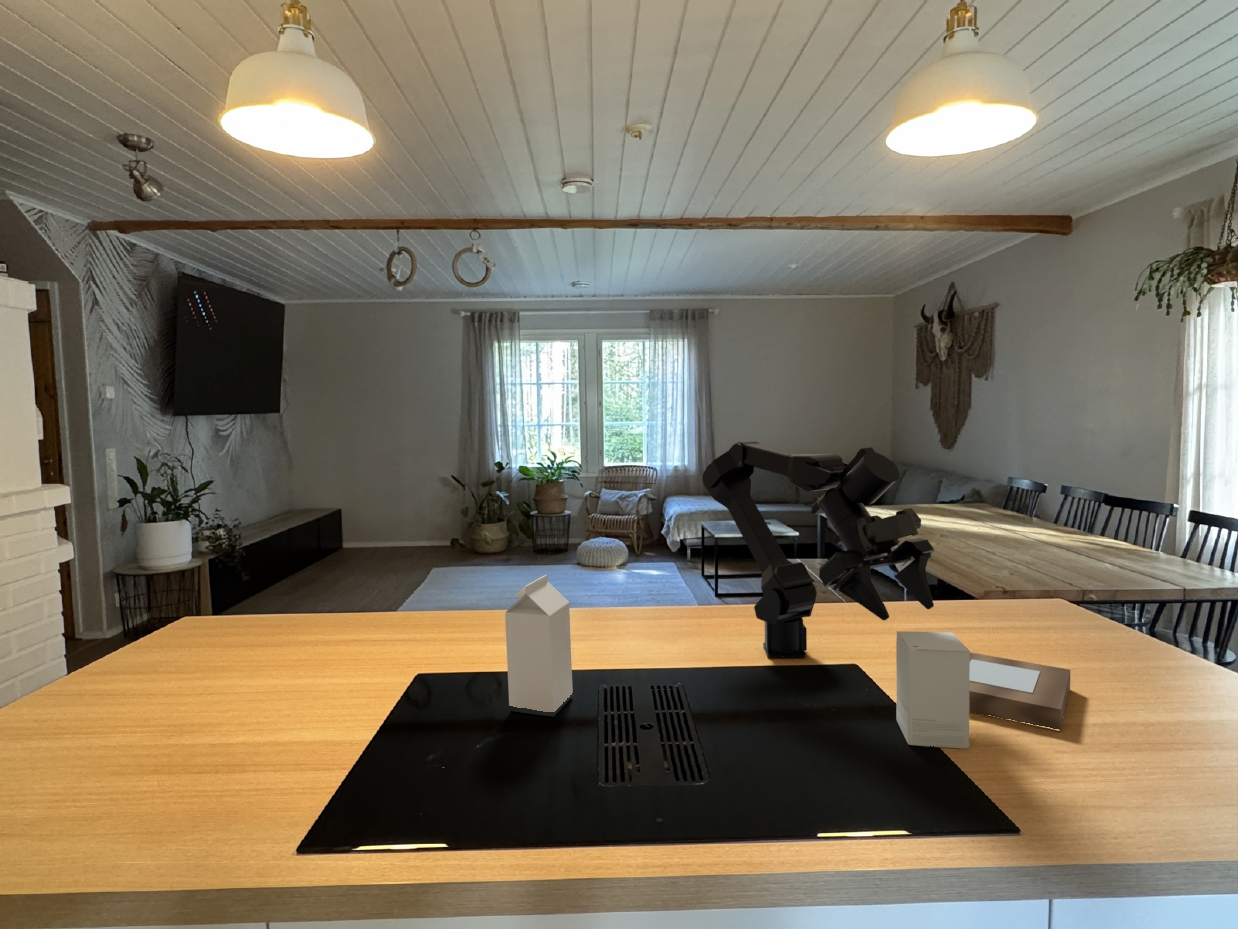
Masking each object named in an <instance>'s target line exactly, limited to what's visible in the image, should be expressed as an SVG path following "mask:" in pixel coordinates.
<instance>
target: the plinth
mask: <svg viewBox="0 0 1238 929" xmlns="http://www.w3.org/2000/svg"><path fill="white" fill-rule="evenodd" d="M1069 691H1070V692H1071V669H1069V668H1063V667H1059V666H1058V667H1057V666H1051V665H1046V664H1040V663H1035V662H1029V661H1023V660H1017V659H1009V658H1007V657H1006V658H1004V657H999V656H994V655H988V654H983V653H977V652H972V651H970V668H969V713H972V712H976V713H975V714H977V713H979V714H978V715H981V714H984V715H983V716H986V715H991V716H995V717H999V718H1003V719H1002V720H1004V719H1011V720H1015V721H1017V722H1016V723H1018V722H1025V723H1030V724H1033V725H1039V726H1045V727H1050V728H1053V729H1059V730H1061V731H1062V727H1063V723H1062V722H1064V719H1063V717H1064V718H1065V714H1064V712H1065V713H1066V710H1065V708H1066V709H1067V705H1068V701H1067V699H1068V700H1069V697H1068V695H1069V696H1070V692H1069ZM1066 704H1067V705H1066ZM995 717H994V718H995ZM999 718H998V719H999ZM1061 726H1062V727H1061Z"/></svg>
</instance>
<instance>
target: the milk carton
mask: <svg viewBox="0 0 1238 929" xmlns="http://www.w3.org/2000/svg"><path fill="white" fill-rule="evenodd" d="M548 576H549V575H548V574H544V575H543V576H541V577H539V578H537V579H535V580H534V581H532V582H530V583H528V584H527V585H525V586H524V587H523V588H521V589H520V590H519V591H517V593H516V594H515V597H516V599H518V600H517V601H516V602H514V604H512V605H511V606H510V607H509V608H508V609H507V610H506V611H505V613H504V616H505V617H504V621H505V639H506V640H505V641H506V662H507V663H506V666H507V683H508V684H507V685H508V686H507V687H508V688H507V689H508V706H513V707H517V708H527V709H532V710H537V711H543V712H555V711H556V710H557V709H558V708H559V707H560V706H561V705H562V704H563V702H565V701H566V700H567V698H569V697H570V695H572V693H573V690H574V689H573V672H572V670H573V669H572V668H573V666H572V664H573V663H572V643H571V641H572V640H571V615H570V601H569V600H568V599H567V598H566V597H565V596H564V595H563V594H561V592H559V590H557V589H556V588H555V587H554V585H552V584H551V583H550V582H549V580H548V579H549V578H548ZM573 694H574V693H573Z"/></svg>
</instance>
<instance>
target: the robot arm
mask: <svg viewBox="0 0 1238 929" xmlns="http://www.w3.org/2000/svg"><path fill="white" fill-rule="evenodd" d="M757 468H758V469H762V470H765V471H766V472H767V471H768V472H771V473H774V474H776V475H780V476H783V477H785V478H787V479H788V480H789V482H790V484H792V485H794V486H795V487H797V488H799V489H800V490H802V491H805V492H809V493H810V492H817V491H824V490H825V492H824V493H823V495H821V496H820V497H819V496H817V497H814V498H813V504H812V506H811V510H810V511H811V515H813V516H814V515H822V514H824V515H825V517H826V518H827V521H828V522H829V524H830V525H831V527H832V528H833V530H834V532H835V534H836V536H835V537H834V538H833V542H834V543H835V544H836V546H838V545H843V546H844V548H845V550H842V551H836V552H835V553H834V554H833V555H832V556H831V557H830V558H829V559H828V560H827V561H826V562H825V563H823V564H822V565H821V566H820V567H819V573H818V574H819V576H818V577H819V579H820V581H821V582H822V584H823V586H824V587H825V588H826V589H827V588H831V587H832V589H833V591H834V592H840V593H841V594H843V595H845V596H846V597H848V598H850V599H851V600H853V601H855V602H856V603H858V604H859V605H860V606H862V607H863V608H864V609H866V610H868V611H869V612H870V613H872V614H873V615H874V616H876V617H878V618H879V619H880V620H882V621H887V620H888V619H889V618H890V615H889V612H888V610H887V607H886V606H885V604H884V602H883V600H882V598H881V596H880V595H879V593H878V591H877V589H876V587H875V585H874V584H873V582H872V580H871V576H872V574H871V569H876V568H881V567H887V566H888V567H889V569H890V570H891V571H892V572H894V573H896V574H895V575H894V576H893V577H894V578H895V579H896V580H897V581H898V582H899V583H900V584H901V585H902V586H903V587H904V588H905V590H906V591H908V593H910V594H911V596H913V597H914V598H915V600H917V601H918V603H920V604H921V605H922V606H923V607H924V608H925V609H926V610H931V609H932V608H933V607H934V601H933V597H932V593H931V592H932V591H931V589H930V585H929V582H928V581H929V580H928V576H927V572H926V571H927V570H926V568H927V566H928V565H927V564H928V561H930V560H931V558H932V554H933V553H934V552H935V548H934V547H933V546H932V544H931V543H930V541H929V540H928V539H926V538H923V537H922V538H921V537H918V538H912V539H906V540H904V541H903V542H902V543H901V544H899V543H900V540H899V539H902V538H905V537H908V536H913V537H914V536H917V535H919V532H918V529H920V528H921V526H922V519H921V518H920V517H919V515H918V513H916V512H915V510H914V509H913V508H912V507H908V508H903V509H902V510H898V511H896V512H895V515H894V514H893V515H891V516H886V517H884V518H882V517H881V516H879V515H877V514H876V515H871V514H870V512H869V511H868V510H867V508H866V506H865V505H872V504H874V503H875V502H876V501H878V499H879V498H880V497H881V496H882V495H884V493H886V491H887V490H888V489H890V488H891V487H892V486H893V485H894V484H895V483H896V482H897V481H898V479H900V471H899V468H898V467H897V465H896V464H895V463H894V462H893V461H891V460H890V459H889V458H887V457H886V456H885V455H883V454H880V453H878V452H876V451H875V449H874V448H873V447H872V446H871V447H870V446H868V447H866V446H865V447H861V448H860V449H859V450H857V452H856V454H855V456H854V457H853V459H852V460H850V462H849V463H848V462H844V461H843V458H842V457H841V456H840V455H838V454H836V453H800V452H799V453H798V452H795V451H791V450H786V449H782V448H779V447H774V446H771V445H766V444H762V443H761V442H758V441H756V440H751V441H750V440H749V441H738V442H736V443H734V444H733V445H732V446H731V447H730V448H728V450H727V451H725V452H724V453H723V454H721V455H720V456H717V457H716V458H715V459H713V461H711V463H709V464H708V465H707V466H706V467H705V470H704V471H703V473H702V482H703V486H704V487H705V489H706V490H707V492H708V494H710V496H711V498H712V499H713V500H714V501H715V502H717V503H719V504H720V505H722V506H723V507H725V508H726V509H727V510H728V513H729V514H730V516H731V518H732V520H733V521H734V524H735V525H736V527H737V529H738V531H739V532H740V534H741V536H742V537H743V539H744V542H745V544H746V545H747V547H748V549H749V551H750V553H751V554H752V556H753V559H754V560H755V562H756V565H758V568H759V569H760V571H761V581H760V582H761V583H760V584H761V585H760V589H761V592H762V594H763V596H761V598H760V599H759V601H757V602H756V604H755V605H754V607H753V609H754V613H755V617H756V619H758V620H760V621H763V622H764V642H763V643H762V645H763V648H764V651H765V654H766V656H767V658H771V659H773V658H775V659H776V658H777V659H780V658H781V659H783V658H787V659H789V658H790V659H791V658H793V659H794V658H796V659H797V658H798V659H799V658H803V659H804V658H806V657H807V654H806V651H807V649H808V648H807V647H808V646H807V645H808V642H807V640H808V638H807V636H808V635H807V634H808V633H807V631H808V630H807V629H808V628H807V627H806V625H805V623H804V619H803V618H809V617H811V616H812V614H813V613H812V612H813V609H814V605H815V604H816V601H817V600H816V599H817V594H818V592H817V589H816V586H815V584H814V583H815V579H814V578H813V577H811V575H810V574H809V571H808V570H807V567H806V565H805V564H804V563H803V562H802V561H800V562H795V563H794V562H792V561H790V560H788V558H787V556H786V555H785V553H784V552H783V550H782V548H781V547H780V545H779V543H778V542H777V540H776V537H775V536H774V534H773V532H772V531H771V529H770V527H769V526H768V523H767V522H766V520H765V518H764V516H763V515H762V513H761V511H760V510H759V508H758V506H757V505H756V502H755V501H754V499H753V497H752V488H753V483H752V477H753V476H755V474H756V472H757ZM897 545H898V546H897ZM896 546H897V547H896ZM894 547H896V548H895V549H893V550H892V548H894Z"/></svg>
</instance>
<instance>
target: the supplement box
mask: <svg viewBox="0 0 1238 929" xmlns="http://www.w3.org/2000/svg"><path fill="white" fill-rule="evenodd" d="M895 642H896V644H895V646H896V653H895V654H896V656H895V657H896V659H895V660H896V708H895V709H896V711H895V712H896V714H895V716H896V717H895V718H896V722H897V724H898V726H899V728H900V731H901V733H902V734H903V736H904V739H905V741H906V742H907V744H908V746H909V745H910V746H919V747H930V746H931V748H932V747H933V746H934V748H948V749H949V748H950V749H963V750H965V749H966V750H967V749H969V748H970V712H969V668H970V652H971V650H970V649H969V648H968V647H966V645H965V644H964V643H963V642H962V641H961V640H960V639H959V638H958V637H957V636H956V634H955V633H954V632H947V631H906V630H905V631H902V630H901V631H896V641H895Z"/></svg>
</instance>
